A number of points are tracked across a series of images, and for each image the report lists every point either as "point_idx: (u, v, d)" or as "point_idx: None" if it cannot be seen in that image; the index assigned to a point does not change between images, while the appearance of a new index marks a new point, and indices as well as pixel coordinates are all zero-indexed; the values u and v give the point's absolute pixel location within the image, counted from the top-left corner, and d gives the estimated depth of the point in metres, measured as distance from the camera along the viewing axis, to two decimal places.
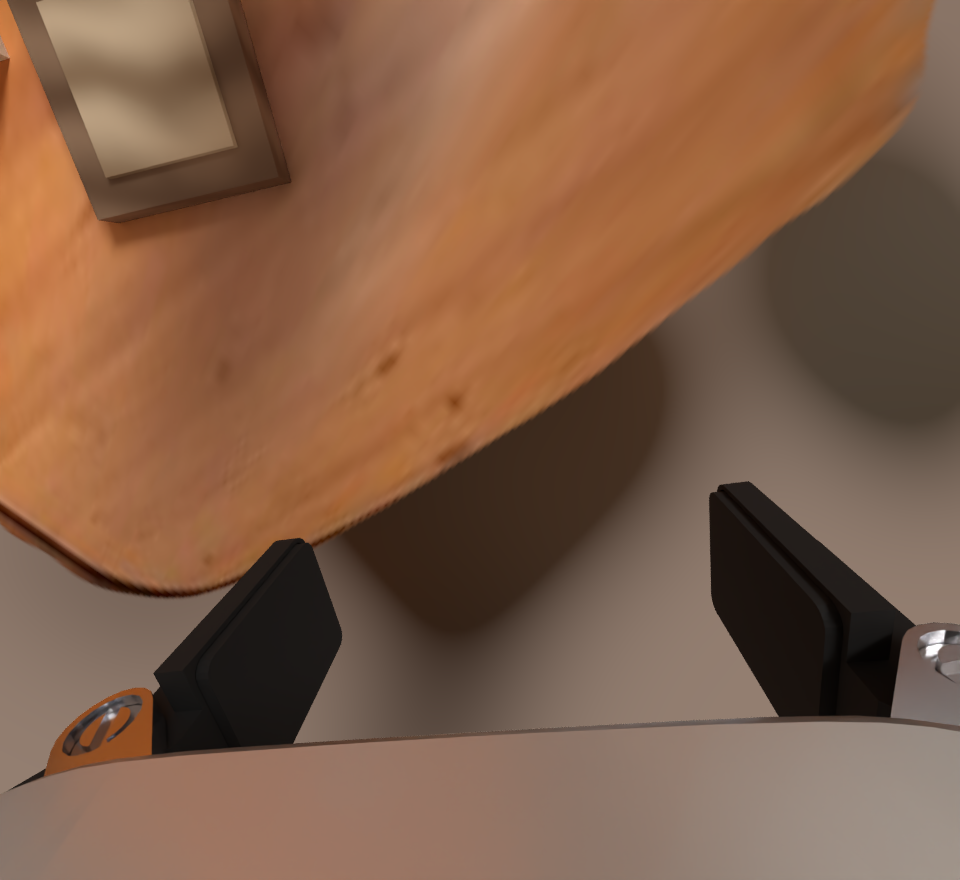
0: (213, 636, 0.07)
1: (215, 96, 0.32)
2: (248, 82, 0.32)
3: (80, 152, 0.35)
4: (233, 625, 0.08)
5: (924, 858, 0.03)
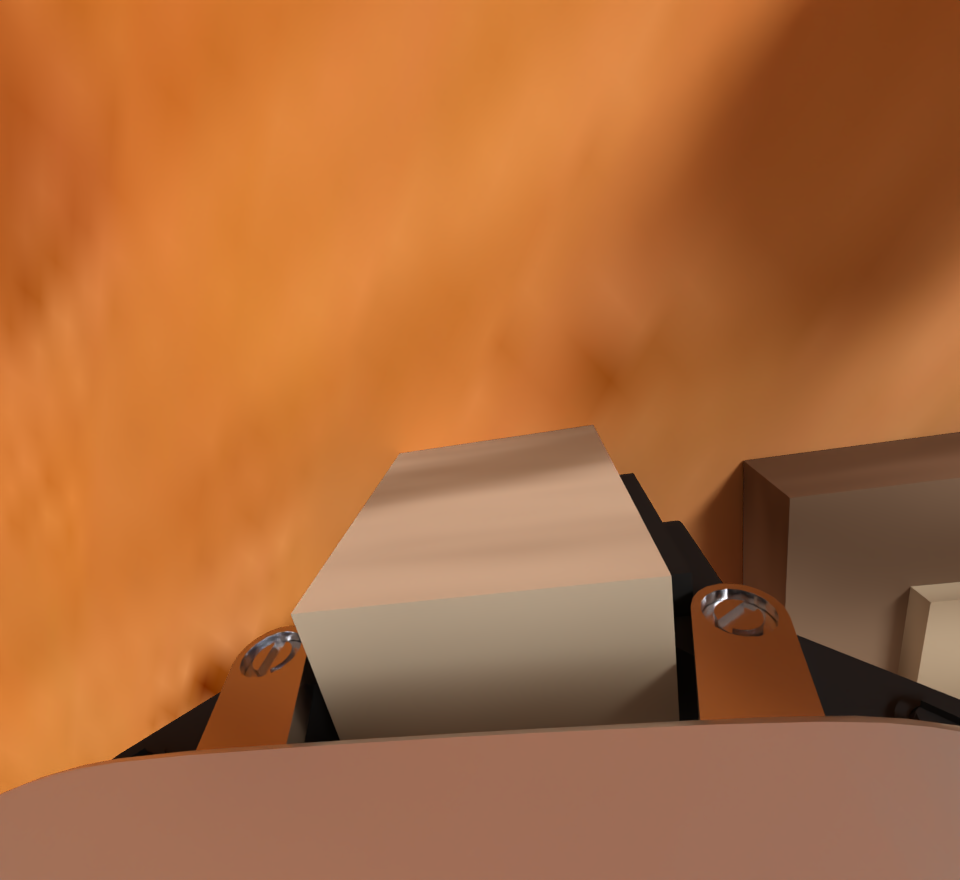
0: None
1: None
2: None
3: None
4: None
5: (924, 857, 0.03)
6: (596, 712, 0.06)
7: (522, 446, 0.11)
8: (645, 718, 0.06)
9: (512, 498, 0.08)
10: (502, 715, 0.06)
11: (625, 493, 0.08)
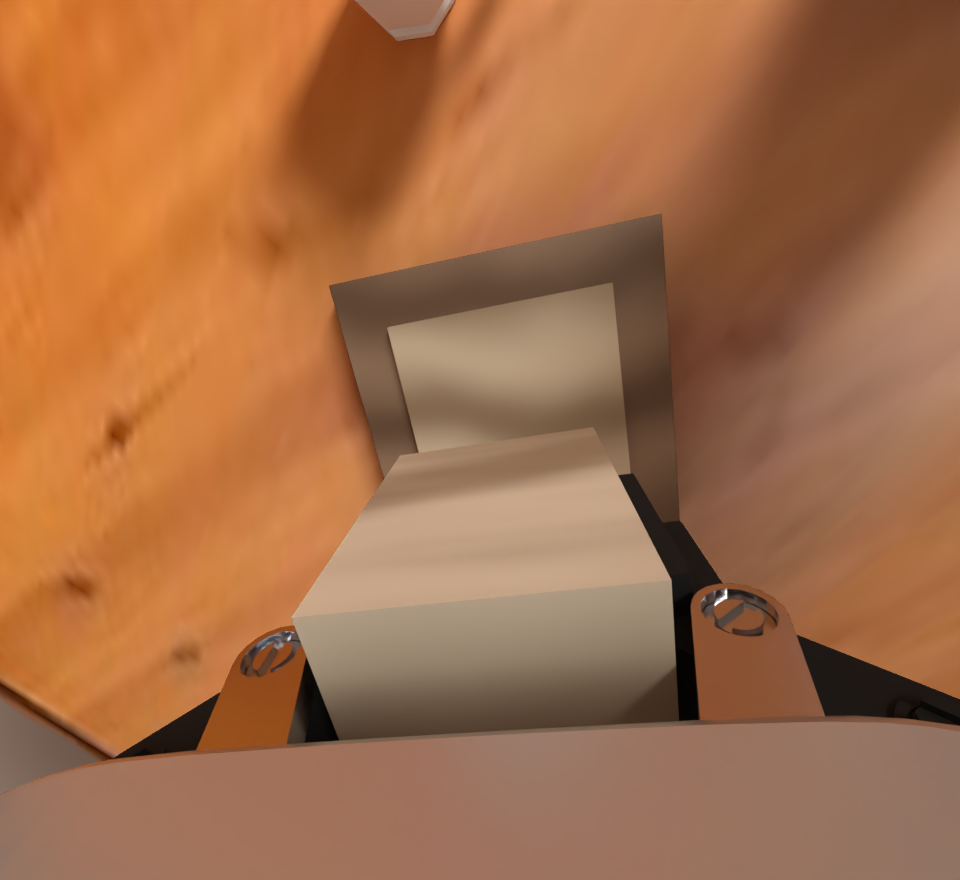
0: None
1: (622, 440, 0.23)
2: (668, 420, 0.23)
3: None
4: None
5: (924, 858, 0.03)
6: (597, 716, 0.06)
7: (522, 448, 0.11)
8: (645, 722, 0.06)
9: (513, 501, 0.08)
10: (502, 717, 0.06)
11: (625, 496, 0.08)
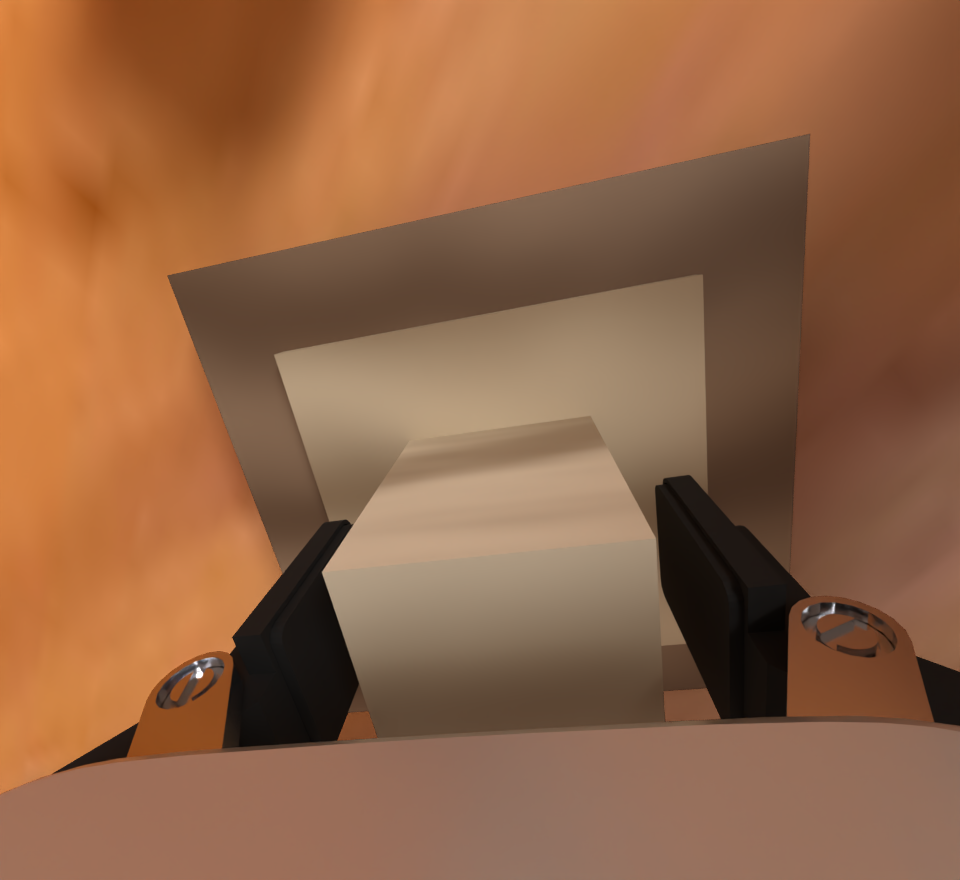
0: (282, 604, 0.08)
1: None
2: (782, 523, 0.13)
3: None
4: (298, 596, 0.08)
5: (924, 858, 0.03)
6: (590, 662, 0.07)
7: (524, 434, 0.11)
8: (632, 668, 0.07)
9: (515, 478, 0.09)
10: (506, 664, 0.07)
11: (618, 473, 0.08)
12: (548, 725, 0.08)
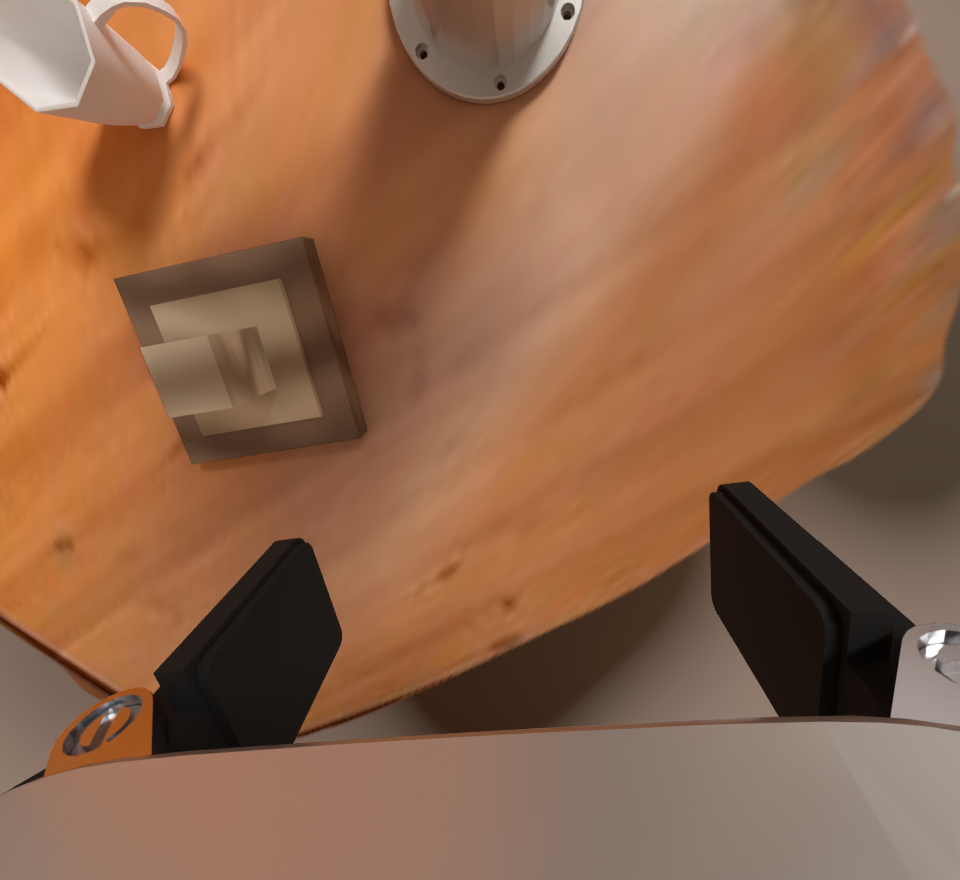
0: (213, 635, 0.07)
1: (306, 380, 0.36)
2: (336, 367, 0.36)
3: None
4: (233, 625, 0.08)
5: (924, 858, 0.03)
6: (203, 370, 0.30)
7: None
8: (213, 371, 0.30)
9: None
10: (185, 372, 0.31)
11: None
12: (199, 390, 0.31)
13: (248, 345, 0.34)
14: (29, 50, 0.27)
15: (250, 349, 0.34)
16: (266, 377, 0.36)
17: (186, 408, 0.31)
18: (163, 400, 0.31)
